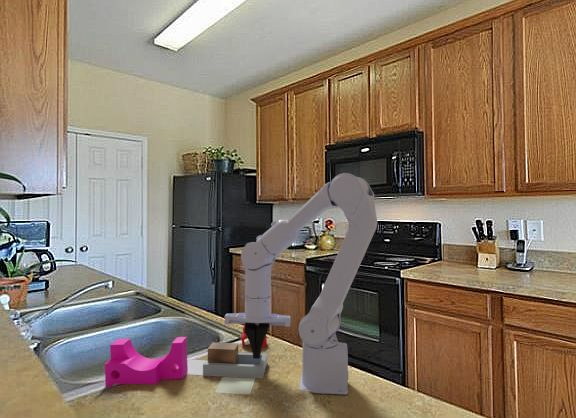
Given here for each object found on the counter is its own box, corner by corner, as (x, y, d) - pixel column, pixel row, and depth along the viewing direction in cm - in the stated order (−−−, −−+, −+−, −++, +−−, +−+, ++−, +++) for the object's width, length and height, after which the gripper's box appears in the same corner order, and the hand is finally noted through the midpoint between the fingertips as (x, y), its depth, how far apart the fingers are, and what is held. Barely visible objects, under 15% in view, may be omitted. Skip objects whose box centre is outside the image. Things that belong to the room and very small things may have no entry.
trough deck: (267, 365, 90) (267, 353, 90) (262, 380, 82) (262, 367, 82) (187, 362, 91) (187, 350, 91) (175, 376, 83) (175, 363, 83)
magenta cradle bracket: (105, 386, 78) (104, 349, 78) (119, 373, 84) (118, 338, 84) (179, 384, 78) (177, 346, 78) (187, 371, 84) (186, 336, 84)
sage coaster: (255, 381, 81) (255, 378, 81) (249, 397, 74) (249, 394, 74) (222, 379, 82) (222, 377, 82) (214, 395, 75) (214, 392, 75)
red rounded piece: (232, 333, 102) (242, 326, 98) (248, 321, 107) (258, 314, 102) (249, 359, 101) (260, 353, 97) (265, 346, 105) (275, 340, 101)
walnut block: (238, 365, 88) (238, 343, 88) (234, 372, 84) (234, 349, 84) (212, 364, 88) (212, 342, 88) (207, 371, 84) (207, 348, 84)
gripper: (291, 293, 89) (290, 351, 89) (229, 291, 90) (228, 349, 90) (289, 300, 82) (288, 363, 82) (222, 298, 83) (221, 360, 83)
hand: (256, 357), depth 86 cm, fingers closed
